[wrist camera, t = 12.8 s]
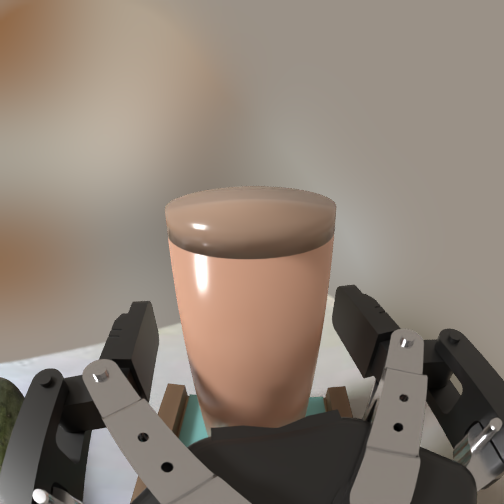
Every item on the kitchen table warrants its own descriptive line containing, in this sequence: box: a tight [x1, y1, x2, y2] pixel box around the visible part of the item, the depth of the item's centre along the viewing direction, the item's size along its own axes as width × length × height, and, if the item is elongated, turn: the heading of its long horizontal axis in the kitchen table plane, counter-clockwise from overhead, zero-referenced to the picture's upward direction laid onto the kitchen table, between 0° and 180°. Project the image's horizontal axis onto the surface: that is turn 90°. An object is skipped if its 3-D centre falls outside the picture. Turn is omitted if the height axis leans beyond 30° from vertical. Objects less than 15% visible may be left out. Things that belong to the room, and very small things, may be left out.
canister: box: [165, 186, 336, 437], centre depth 11 cm, size 5×5×14 cm
